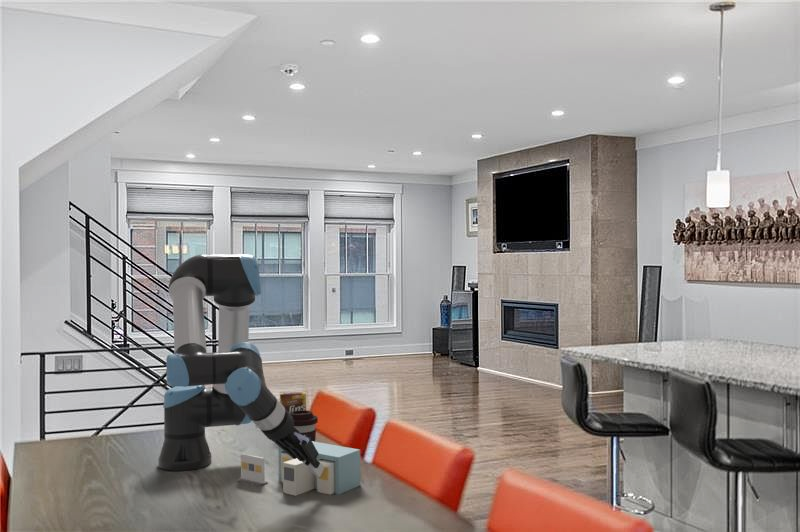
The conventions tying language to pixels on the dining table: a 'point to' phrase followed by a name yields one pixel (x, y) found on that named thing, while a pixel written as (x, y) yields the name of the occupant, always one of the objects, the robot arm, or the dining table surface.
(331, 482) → the button
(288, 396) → the candy box
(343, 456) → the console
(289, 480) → the middle button
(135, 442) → the dining table surface
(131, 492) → the dining table surface
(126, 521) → the dining table surface
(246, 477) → the card
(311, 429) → the coffee cup
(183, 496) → the dining table surface
